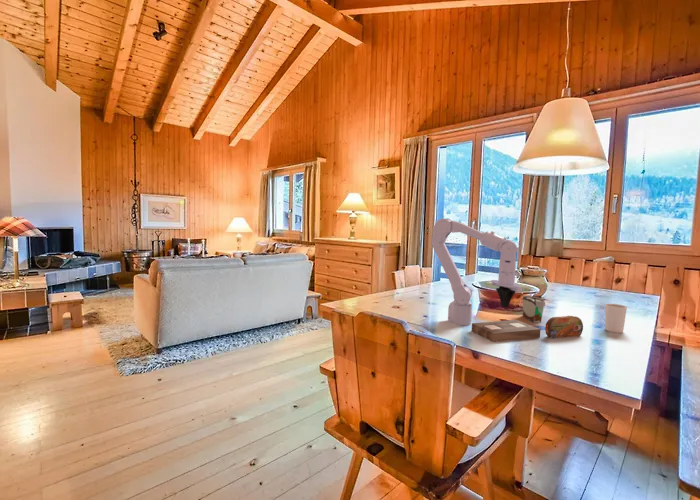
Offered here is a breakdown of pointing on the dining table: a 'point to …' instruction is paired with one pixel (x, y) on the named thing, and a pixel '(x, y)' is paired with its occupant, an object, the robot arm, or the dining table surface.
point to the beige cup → (615, 317)
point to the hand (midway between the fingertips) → (504, 306)
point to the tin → (564, 327)
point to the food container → (533, 308)
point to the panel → (505, 331)
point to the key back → (517, 325)
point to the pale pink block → (492, 327)
